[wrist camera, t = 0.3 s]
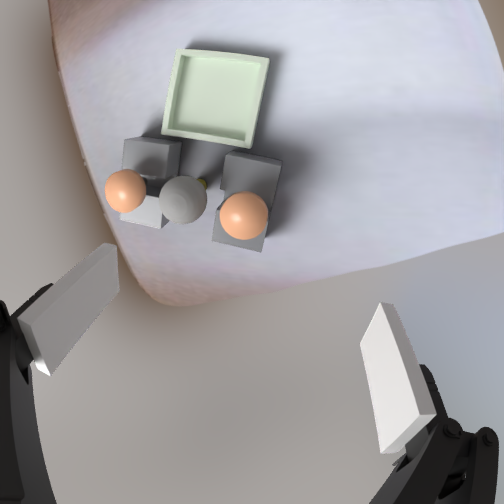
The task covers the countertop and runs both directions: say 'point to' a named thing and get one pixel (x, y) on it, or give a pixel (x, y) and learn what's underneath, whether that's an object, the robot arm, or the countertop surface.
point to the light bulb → (183, 199)
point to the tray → (215, 96)
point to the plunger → (125, 190)
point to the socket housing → (166, 167)
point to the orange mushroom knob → (244, 215)
